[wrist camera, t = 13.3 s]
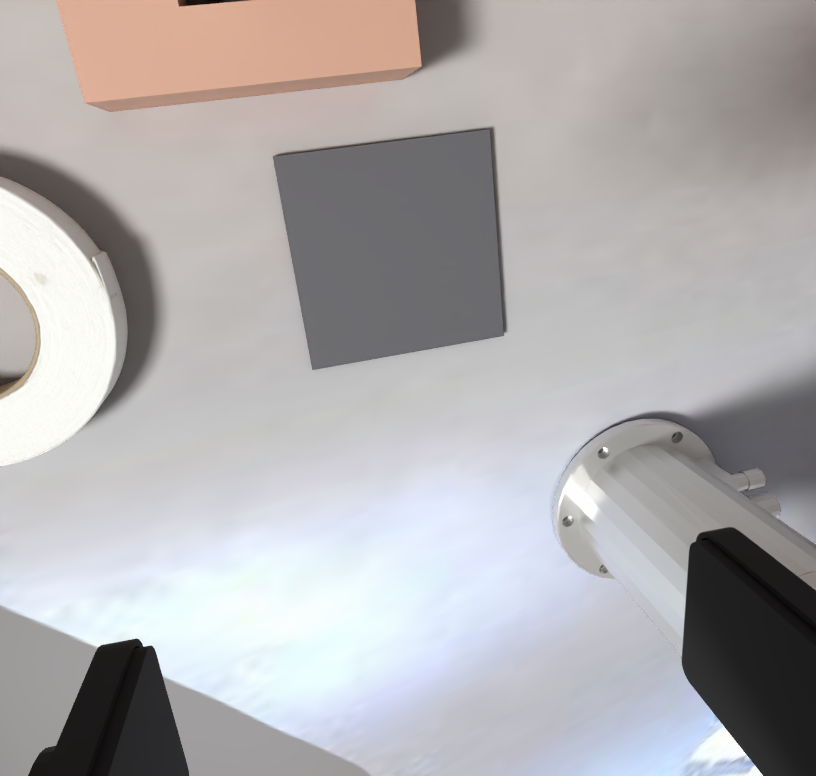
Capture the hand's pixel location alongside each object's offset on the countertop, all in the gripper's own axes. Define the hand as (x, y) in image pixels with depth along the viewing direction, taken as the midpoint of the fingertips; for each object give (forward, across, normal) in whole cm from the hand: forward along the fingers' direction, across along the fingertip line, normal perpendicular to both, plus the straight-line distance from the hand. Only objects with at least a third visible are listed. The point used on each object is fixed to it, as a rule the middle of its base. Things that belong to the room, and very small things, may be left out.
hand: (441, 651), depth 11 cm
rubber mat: (+28, -4, -3) cm, 28 cm away
